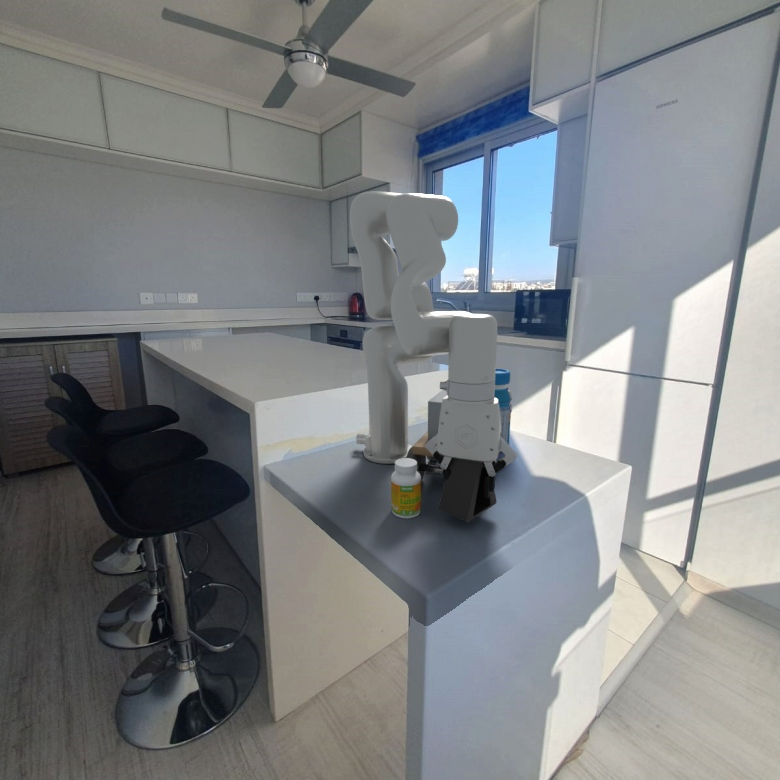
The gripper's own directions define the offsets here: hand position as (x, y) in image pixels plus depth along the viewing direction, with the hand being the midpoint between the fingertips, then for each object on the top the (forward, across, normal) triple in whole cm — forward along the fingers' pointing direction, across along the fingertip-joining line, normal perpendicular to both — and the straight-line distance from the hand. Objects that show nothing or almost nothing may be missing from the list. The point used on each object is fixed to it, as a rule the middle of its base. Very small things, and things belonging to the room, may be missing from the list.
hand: (468, 490), depth 72 cm
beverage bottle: (+6, -2, +36) cm, 37 cm away
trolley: (+5, -6, +16) cm, 18 cm away
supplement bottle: (+6, -11, -2) cm, 12 cm away
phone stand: (+3, 0, 0) cm, 3 cm away
